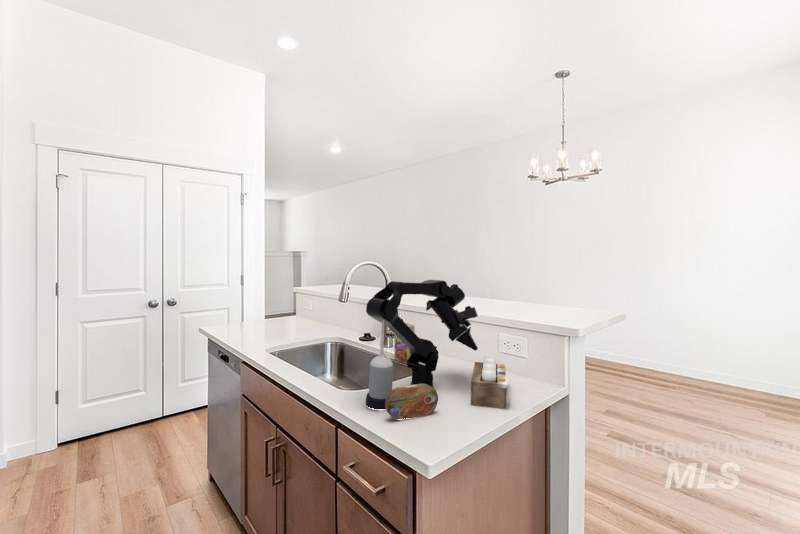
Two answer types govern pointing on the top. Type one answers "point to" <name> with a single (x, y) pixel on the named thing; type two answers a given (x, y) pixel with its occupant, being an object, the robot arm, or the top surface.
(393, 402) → the tin
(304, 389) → the top surface
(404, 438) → the top surface
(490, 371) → the button
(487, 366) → the middle button
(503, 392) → the brown compartment box
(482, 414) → the top surface
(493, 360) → the button
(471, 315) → the robot arm
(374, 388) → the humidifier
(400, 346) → the candy box
